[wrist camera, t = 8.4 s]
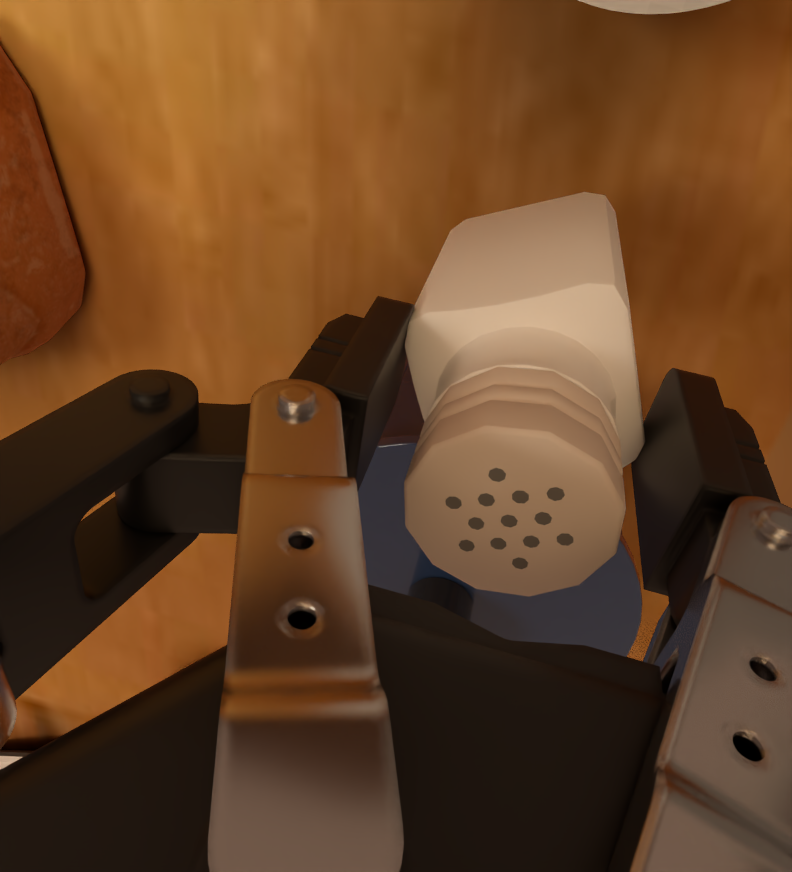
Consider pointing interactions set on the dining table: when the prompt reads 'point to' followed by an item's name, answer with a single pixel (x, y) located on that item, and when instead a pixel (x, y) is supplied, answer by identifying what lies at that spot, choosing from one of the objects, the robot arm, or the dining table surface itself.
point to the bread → (32, 228)
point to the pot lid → (494, 611)
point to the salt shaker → (524, 398)
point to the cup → (653, 5)
